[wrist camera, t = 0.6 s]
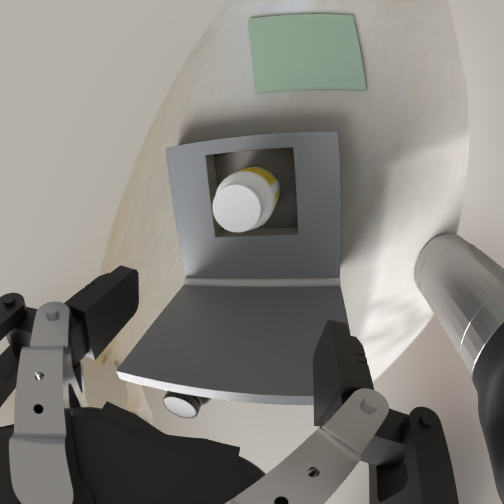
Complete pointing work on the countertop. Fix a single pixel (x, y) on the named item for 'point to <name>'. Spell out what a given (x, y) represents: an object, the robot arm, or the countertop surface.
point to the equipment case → (247, 282)
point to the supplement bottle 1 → (184, 404)
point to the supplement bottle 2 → (246, 199)
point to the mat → (306, 53)
